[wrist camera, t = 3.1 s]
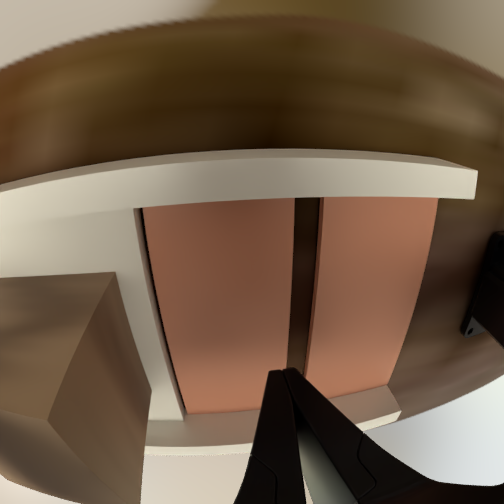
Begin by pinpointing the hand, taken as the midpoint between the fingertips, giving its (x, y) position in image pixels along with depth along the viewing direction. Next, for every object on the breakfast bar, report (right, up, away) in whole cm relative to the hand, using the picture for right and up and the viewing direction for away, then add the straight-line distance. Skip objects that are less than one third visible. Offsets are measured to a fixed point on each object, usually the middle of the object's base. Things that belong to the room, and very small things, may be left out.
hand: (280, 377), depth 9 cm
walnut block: (-8, 0, +1) cm, 8 cm away
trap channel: (-8, +1, +2) cm, 9 cm away
